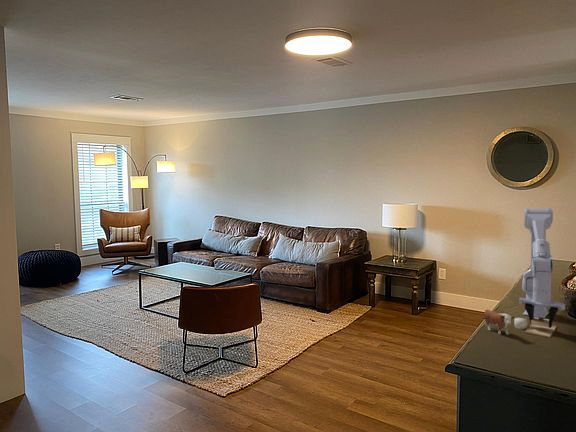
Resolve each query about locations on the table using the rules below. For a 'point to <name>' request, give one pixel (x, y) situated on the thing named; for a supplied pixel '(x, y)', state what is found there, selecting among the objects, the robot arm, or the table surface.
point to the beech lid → (540, 322)
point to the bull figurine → (497, 320)
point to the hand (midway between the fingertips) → (540, 325)
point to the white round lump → (520, 323)
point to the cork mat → (540, 330)
